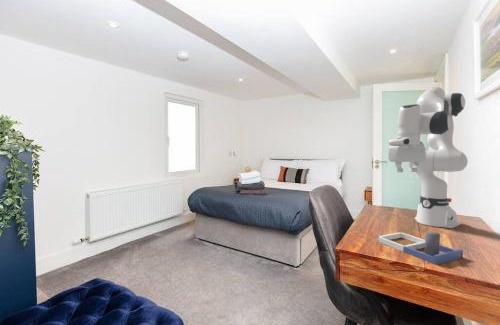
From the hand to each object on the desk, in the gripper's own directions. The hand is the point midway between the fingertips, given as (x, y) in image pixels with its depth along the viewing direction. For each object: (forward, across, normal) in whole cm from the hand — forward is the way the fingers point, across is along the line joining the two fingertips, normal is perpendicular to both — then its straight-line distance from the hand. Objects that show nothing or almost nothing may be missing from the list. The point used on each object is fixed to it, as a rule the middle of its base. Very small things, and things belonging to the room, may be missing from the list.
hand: (407, 172), depth 114 cm
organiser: (+29, +10, +12) cm, 33 cm away
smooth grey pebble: (+29, +10, +18) cm, 35 cm away
